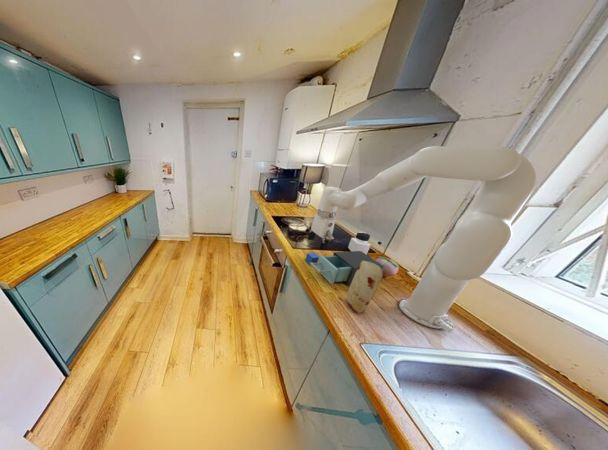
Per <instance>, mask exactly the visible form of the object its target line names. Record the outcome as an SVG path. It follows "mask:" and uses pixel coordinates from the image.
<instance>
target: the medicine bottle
mask: <svg viewBox="0 0 608 450" xmlns="http://www.w3.org/2000/svg"><path fill="white" fill-rule="evenodd" d="M370 238H371V235H370V234H369V233H367V232H364V231H358V232H357V233H356V235H355V237H351V238H350V241H349V243H348V246H347V248H348V250H349V252H351V251H361V252H363V253H364V254H366V255H367V256H368V253H369V251H370V248H371V246H372V244H371V243H370V242H369V240H370Z"/></svg>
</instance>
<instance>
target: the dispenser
mask: <svg viewBox="0 0 608 450" xmlns="http://www.w3.org/2000/svg"><path fill="white" fill-rule="evenodd" d="M332 256H337V257H339V258H340V259H341V260H342V261H344V262H345V263H346V264H348V265H349V266H350V267H351V268H352V270H351V273H350V275H349V278H348V280H347V281H342V282H343V283H344V284H345V285H347V286H350V285H351V283H352V280H353V278H354V275H355V273H356V271H357V269H358V267H359V265H360V263H361V261H368V262H371V263H374V264H376V265H378V266H379V267H380V268H381V269H383V267H384V266H383V265H381V264H380V263H378V262H377V261H375V260H376V259H374V258H372V257H370V255H368V254H367V255H366V254H364V253H363V252H361V251H335V252H333V255H332Z"/></svg>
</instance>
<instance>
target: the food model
mask: <svg viewBox="0 0 608 450" xmlns="http://www.w3.org/2000/svg"><path fill="white" fill-rule="evenodd" d="M382 279H383V273H382V269H381V268H380V267H379V266H378V265H376V264H374V263H371V262H368V261H361V263H360V265H359V267H358V269H357V271H356V273H355V275H354V278H353V280H352V283H351V285H349V288H348V291H347V295H346V301H347V305H348V306H349V308H350V309H351V310H352V311H354V312H355V313H359V314H360V313H363V311H364V310H365V309H366V308H367V307H368V306H369V304H370V302H371V301H372V299H373V296H374V295H375V293H376V291H377V289H378V287H379V284H380V283H381V281H382Z"/></svg>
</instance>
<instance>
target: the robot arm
mask: <svg viewBox="0 0 608 450" xmlns="http://www.w3.org/2000/svg"><path fill="white" fill-rule="evenodd" d="M428 177H432V178H441V179H442V178H443V179H454V180H465V181H478V182H480V185H479V188H478V190H477V192H476V194H475V195H474V197H473V198H472V201H471V202H470V203H469V205H468V206H467V208H466V210H465V211H464V213H463V214H462V215H461V216H460V218H458V220H457V221H456V223H455V225H454V229H453V230H452V232H451V234H450V235H449V237H448V238H447V240H446V242H443V243H442V244H441V245H439V247H438V248H437V250H436V252H435V254H434V256H433V258H432V259H431V261H430V263H429V264H428V266H427V268H426V269H425V272H424V273H423V274H422V276H421V278H420V279H419V281H418V283H417V284H416V286H415V288H414V290H413V291H412V293H411V295H410V296H409V298H408V299H403V300H400V302H399V304H398V307H399V309H400V310H401V311H402V312H403V314H405V315H406V316H407V317H408V318H410V319H411V320H413V321H415V322H416V323H419V324H421V325H423V326H425V327H428V328H433V329H443V330H445V331H446V332H447V333H449V334H452V333H454V332H455V328H456V327H457V326H456V325H455V324H453V323H452V322H450V321H449V320H448V318H449V315H448V314H447V313H448V311H449V310H450V309H451V307H452V306H453V305H454V303H455V301H456V300H457V299H458V298H459V296H460V295H461V293H462V292H463V291H464V289H466V287H467V285H468V284H469V282H470V281H471V280H475V279H479V278H480V277H482V276H483V275H485V274H486V272H487V271H488V270H489V268H490V267H491V266H492V265H493V264H494V263H495V261H496V260H497V259H498V257H499V256H500V255H501V254H502V253H503V251H504V250H505V249H506V247H507V246H508V245H509V243H510V241H511V240H512V236H513V229H512V223H513V221H514V219H515V218H516V217H517V215H518V214H519V212H520V211H521V210H522V209H523V207H524V205H525V204H526V202H527V201H528V200H529V198H530V197H531V195H532V193H533V191H534V190H535V187H536V182H537V174H536V170H535V168H534V165H533V164H532V162H531V161H530V160H529V159H528V158H527V157H525V156H524V155H522V154H521V153H519V152H518V151H517V150H515V149H513V148H510V147H507V146H470V147H469V146H442V145H431V146H427V147H424V148H421V149H420V150H418V151H416V152H415V153H414V154H413V155H411V156H409V157H407V158H404V160H401V161H400V162H398V163H396V164H394V165H392V166H390V167H388V168H386V169H384V170H382V171H380V172H379V173H378V174H377V175H375V177H374V178H373V177H372V179H370V180H368V181H366V182H365V183H363V184H360V185H359V186H357V187H355V188H353V189H350V190H348V191H343V190H342V189H341V188H339V187H336V186H325V187H324V189H323V191H322V195H321V197H320V201H319V204H318V207H317V211H316V214H315V216H314V217H313V220H312V222H309V223H308V225H309V227H308V229H309V231H308V236H307V240H308V241H314V240H315V237H316V236H319V237H320V238H321V242H320V244H319V248H318V249H319V251H325V250H327V247H328V244H330V243H332V242H333V240H334V239H335V238H334V236H333V233H334V230H335V229H334V228H335V223H336V219H335V218H336V213H337V210H338V208H340V209H342V210H346V211H350V210H353V209H355V208H357V207H359V206H361V205H363V204H365V203H367V202H370V201H372V200H374V199H376V198H378V197H381V196H383V195H385V194H390V193H393V192H396V191H398V190H401V189H402V188H405V187H408V186H409V185H412V184H414V183H416V182H418V181H421V180H423V179H426V178H428Z"/></svg>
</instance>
